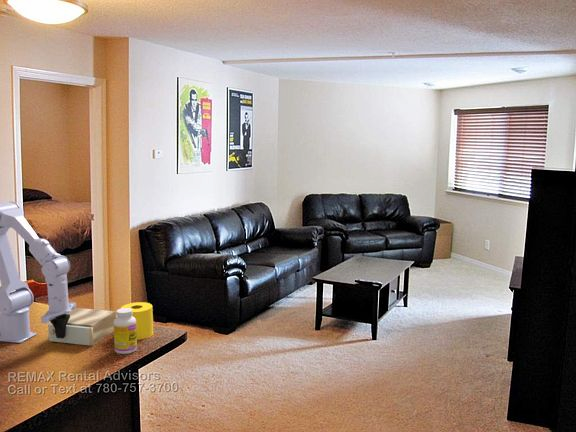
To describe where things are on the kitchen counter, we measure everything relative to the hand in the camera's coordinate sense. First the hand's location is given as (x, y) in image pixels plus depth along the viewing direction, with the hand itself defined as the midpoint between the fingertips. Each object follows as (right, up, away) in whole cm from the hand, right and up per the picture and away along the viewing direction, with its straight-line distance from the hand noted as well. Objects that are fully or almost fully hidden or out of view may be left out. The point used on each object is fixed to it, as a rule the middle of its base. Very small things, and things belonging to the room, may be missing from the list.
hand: (60, 337), depth 170 cm
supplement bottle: (+22, -3, -3) cm, 22 cm away
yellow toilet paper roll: (+22, -1, +10) cm, 24 cm away
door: (+3, -2, +1) cm, 4 cm away
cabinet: (+4, -1, +9) cm, 10 cm away
